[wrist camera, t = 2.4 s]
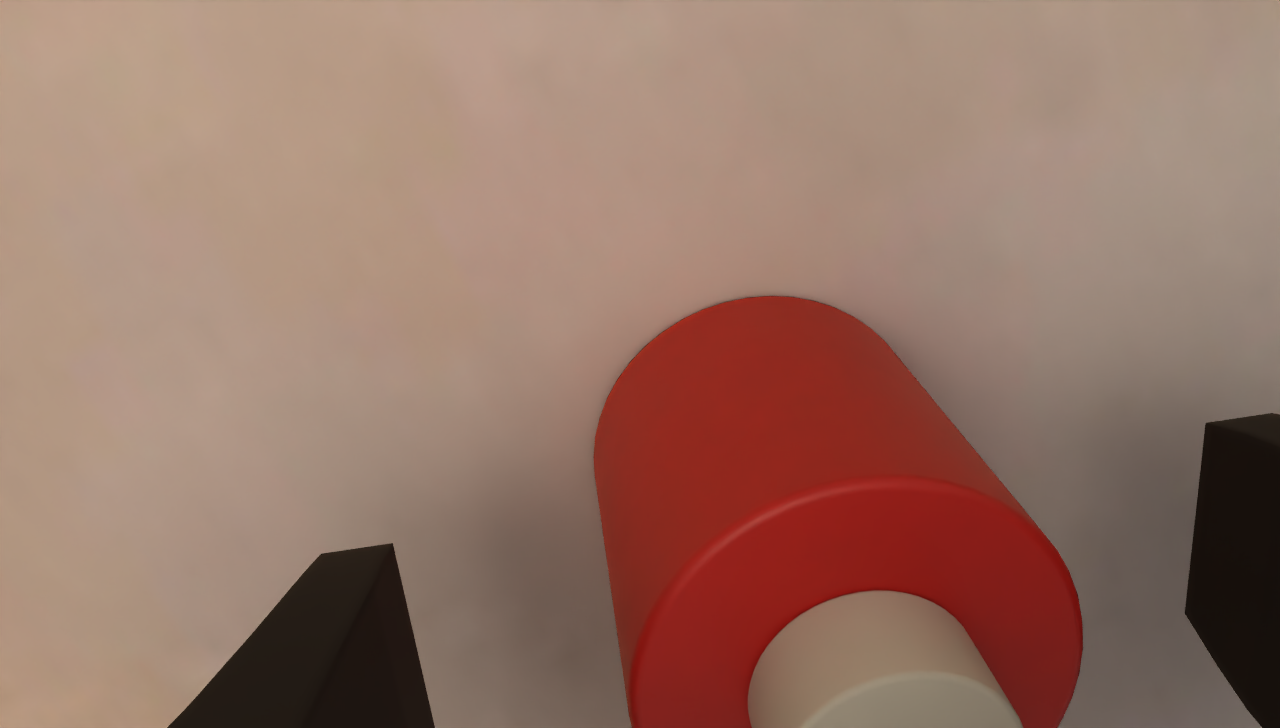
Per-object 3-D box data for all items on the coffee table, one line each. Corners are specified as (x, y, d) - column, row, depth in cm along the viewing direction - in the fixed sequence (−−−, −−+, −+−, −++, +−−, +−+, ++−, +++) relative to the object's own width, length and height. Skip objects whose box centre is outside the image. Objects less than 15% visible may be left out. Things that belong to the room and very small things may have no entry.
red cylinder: (805, 224, 11) (1005, 451, 7) (975, 468, 13) (1236, 797, 8) (524, 426, 12) (534, 764, 7) (716, 640, 13) (824, 1037, 9)
